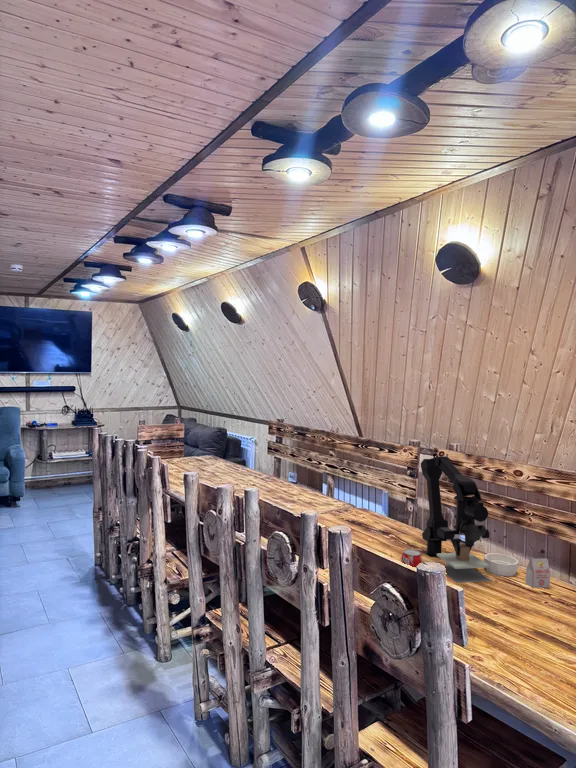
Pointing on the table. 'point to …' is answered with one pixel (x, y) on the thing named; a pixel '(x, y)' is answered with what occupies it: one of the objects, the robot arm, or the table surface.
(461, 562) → the lid
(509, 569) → the bowl
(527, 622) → the table surface
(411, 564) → the soda can
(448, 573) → the mat
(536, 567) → the white gabled carton
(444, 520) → the robot arm
